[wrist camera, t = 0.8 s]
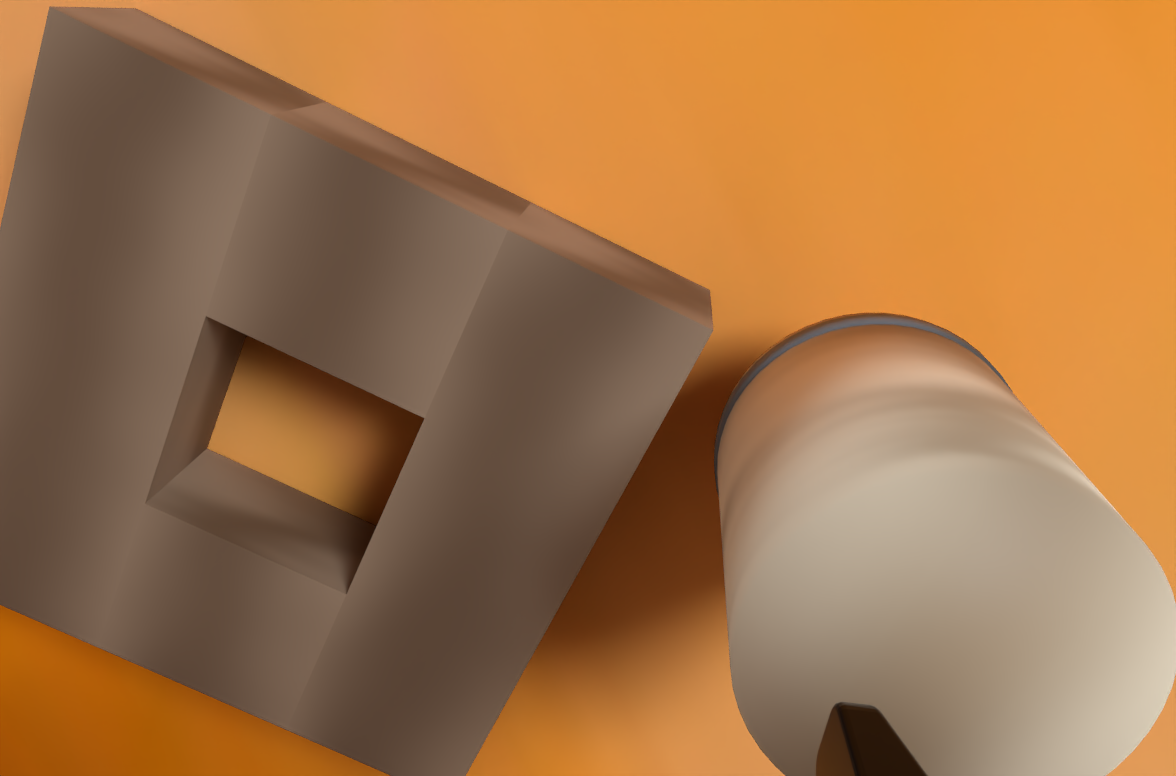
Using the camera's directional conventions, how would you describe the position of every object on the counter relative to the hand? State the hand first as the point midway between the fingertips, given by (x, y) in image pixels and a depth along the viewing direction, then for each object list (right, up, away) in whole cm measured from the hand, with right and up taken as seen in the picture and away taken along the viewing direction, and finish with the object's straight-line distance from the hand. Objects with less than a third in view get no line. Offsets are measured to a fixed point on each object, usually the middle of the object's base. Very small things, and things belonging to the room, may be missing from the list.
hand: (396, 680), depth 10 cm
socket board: (-5, +2, +14) cm, 15 cm away
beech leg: (+8, +3, +13) cm, 15 cm away
